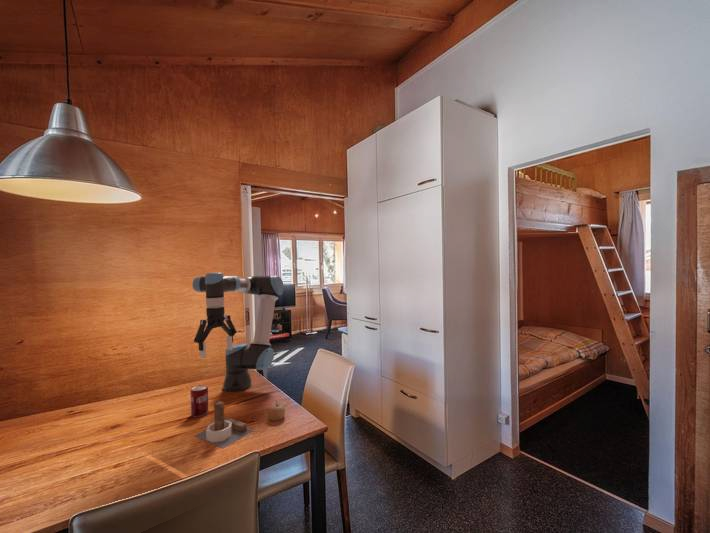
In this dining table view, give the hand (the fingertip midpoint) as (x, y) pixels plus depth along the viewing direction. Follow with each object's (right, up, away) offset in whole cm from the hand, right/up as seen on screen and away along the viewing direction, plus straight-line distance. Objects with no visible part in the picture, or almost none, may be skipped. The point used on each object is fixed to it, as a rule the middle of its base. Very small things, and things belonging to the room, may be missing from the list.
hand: (217, 353), depth 143 cm
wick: (+13, -27, -13) cm, 33 cm away
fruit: (+28, -28, -6) cm, 40 cm away
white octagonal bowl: (+9, -27, -19) cm, 34 cm away
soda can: (-9, -29, +2) cm, 30 cm away
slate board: (+10, -28, -18) cm, 35 cm away
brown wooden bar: (+9, -26, -19) cm, 34 cm away
